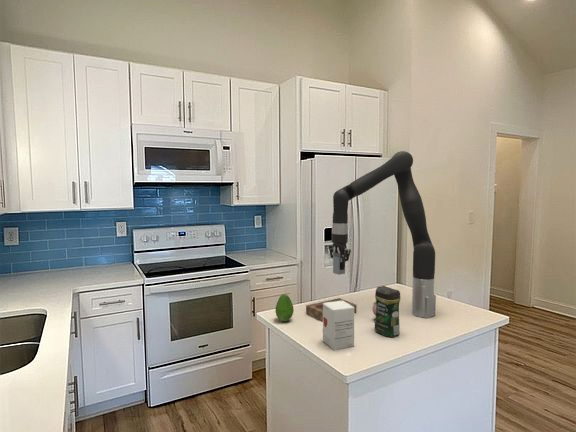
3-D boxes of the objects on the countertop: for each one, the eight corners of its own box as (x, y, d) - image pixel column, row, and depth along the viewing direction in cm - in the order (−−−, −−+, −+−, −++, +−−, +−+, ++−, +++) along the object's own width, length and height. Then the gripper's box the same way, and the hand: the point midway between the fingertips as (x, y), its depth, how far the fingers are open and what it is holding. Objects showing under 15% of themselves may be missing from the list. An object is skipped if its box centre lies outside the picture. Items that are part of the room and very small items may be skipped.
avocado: (279, 325, 159) (279, 297, 158) (273, 319, 167) (272, 292, 166) (296, 322, 162) (296, 295, 161) (289, 316, 170) (289, 290, 169)
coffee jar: (371, 330, 153) (371, 286, 151) (385, 327, 157) (385, 283, 155) (388, 339, 145) (389, 292, 143) (403, 334, 149) (404, 288, 147)
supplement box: (321, 340, 143) (321, 302, 142) (342, 337, 147) (342, 299, 145) (333, 350, 135) (333, 309, 134) (354, 346, 138) (355, 306, 137)
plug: (344, 273, 177) (345, 252, 176) (338, 274, 175) (338, 253, 174) (339, 271, 180) (340, 251, 179) (332, 272, 178) (333, 252, 177)
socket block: (356, 313, 174) (356, 303, 174) (322, 321, 163) (322, 311, 163) (339, 306, 184) (339, 297, 184) (306, 313, 173) (306, 304, 173)
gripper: (356, 234, 172) (355, 270, 173) (336, 230, 184) (335, 265, 185) (343, 235, 168) (342, 272, 169) (324, 231, 180) (323, 266, 181)
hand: (338, 268), depth 177 cm, fingers closed on plug, 4 cm apart
